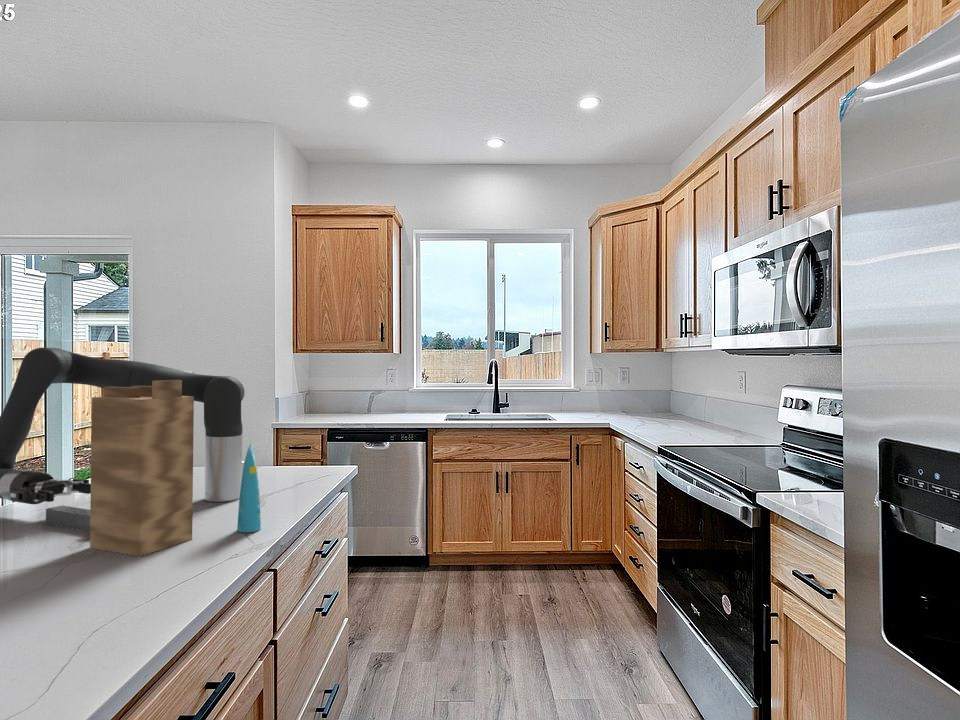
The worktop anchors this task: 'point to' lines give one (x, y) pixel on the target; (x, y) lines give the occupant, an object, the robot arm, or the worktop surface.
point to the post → (141, 468)
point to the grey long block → (69, 517)
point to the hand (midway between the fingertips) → (72, 492)
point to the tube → (249, 496)
